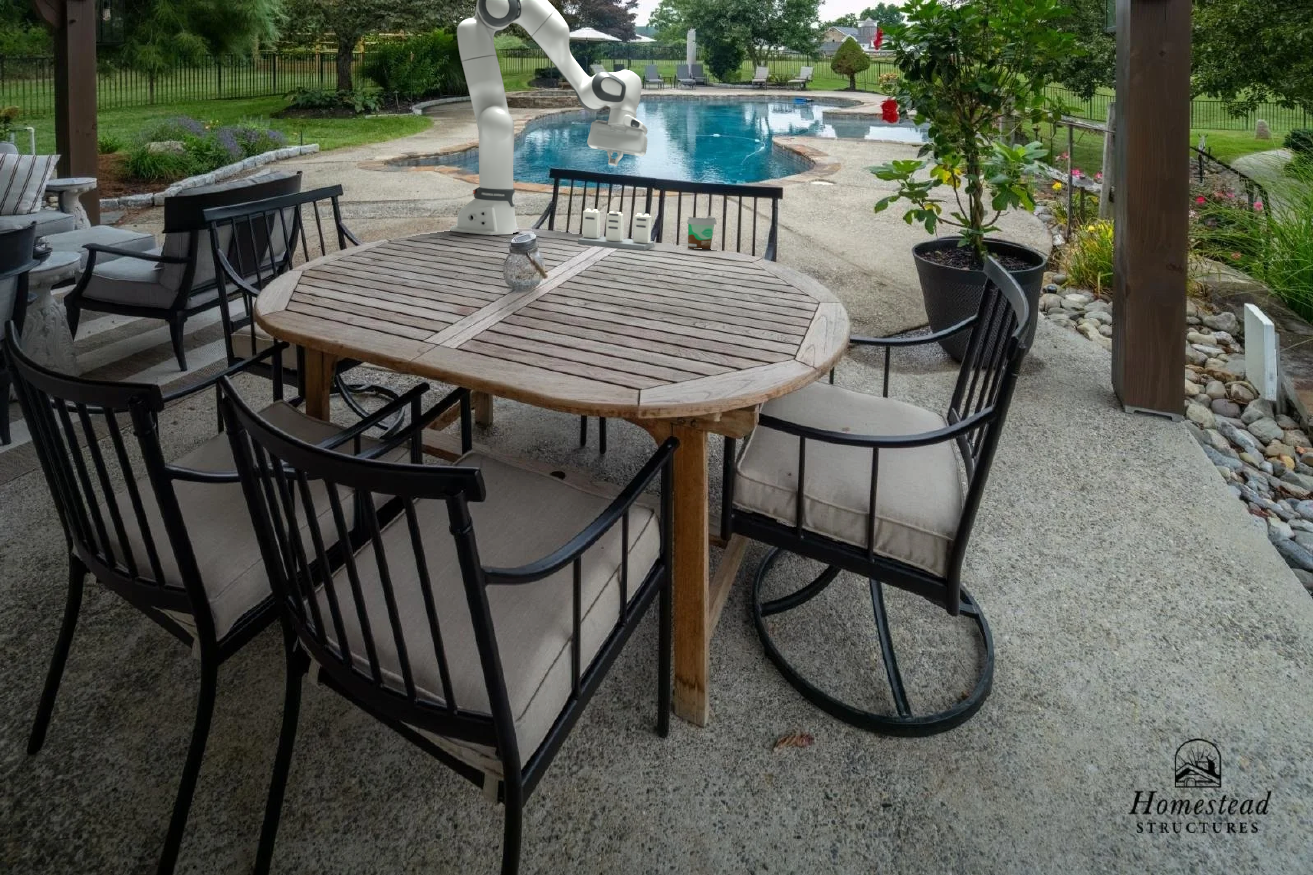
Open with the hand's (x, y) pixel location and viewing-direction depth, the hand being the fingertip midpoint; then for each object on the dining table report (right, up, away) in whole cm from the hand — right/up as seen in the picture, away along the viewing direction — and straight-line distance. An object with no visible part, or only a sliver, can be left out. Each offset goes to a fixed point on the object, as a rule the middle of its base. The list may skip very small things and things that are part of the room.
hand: (612, 164), depth 252 cm
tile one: (-6, -27, -9) cm, 29 cm away
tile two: (+10, -29, -12) cm, 33 cm away
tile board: (+2, -29, -10) cm, 31 cm away
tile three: (+1, -29, -13) cm, 31 cm away
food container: (+30, -29, -5) cm, 43 cm away
